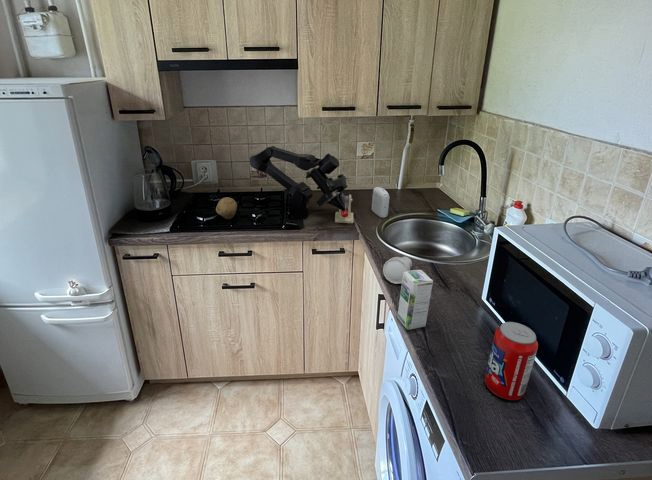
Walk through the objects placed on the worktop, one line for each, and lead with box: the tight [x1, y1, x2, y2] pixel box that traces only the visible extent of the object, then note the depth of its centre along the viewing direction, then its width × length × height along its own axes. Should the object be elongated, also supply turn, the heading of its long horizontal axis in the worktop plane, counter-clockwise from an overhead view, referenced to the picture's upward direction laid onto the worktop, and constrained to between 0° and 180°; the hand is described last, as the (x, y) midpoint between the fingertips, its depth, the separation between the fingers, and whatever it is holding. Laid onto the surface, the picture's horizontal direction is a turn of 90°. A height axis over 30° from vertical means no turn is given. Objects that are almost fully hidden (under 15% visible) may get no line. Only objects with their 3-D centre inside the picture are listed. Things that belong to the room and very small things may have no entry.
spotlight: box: [382, 256, 413, 285], centre depth 123 cm, size 8×11×8 cm
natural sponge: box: [215, 196, 238, 220], centre depth 165 cm, size 9×9×10 cm
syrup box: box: [396, 269, 434, 331], centre depth 100 cm, size 6×6×14 cm
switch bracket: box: [334, 194, 354, 224], centre depth 167 cm, size 10×8×11 cm
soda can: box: [484, 321, 539, 401], centre depth 80 cm, size 8×8×15 cm
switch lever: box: [341, 195, 349, 218], centre depth 162 cm, size 12×3×3 cm, turn 174°
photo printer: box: [371, 186, 390, 219], centre depth 173 cm, size 10×4×12 cm, turn 17°
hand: (344, 210), depth 158 cm, fingers closed
